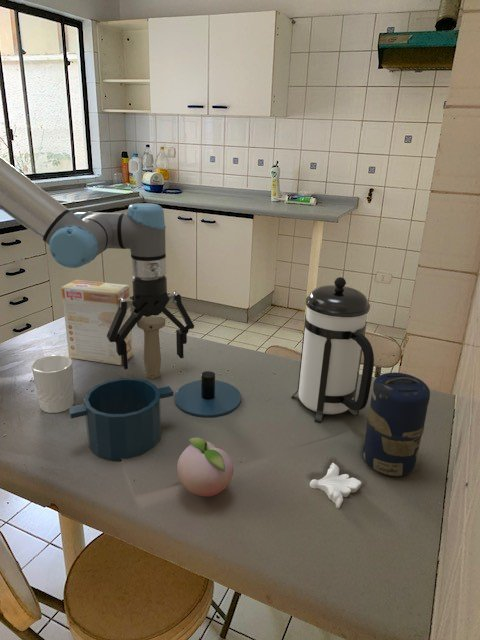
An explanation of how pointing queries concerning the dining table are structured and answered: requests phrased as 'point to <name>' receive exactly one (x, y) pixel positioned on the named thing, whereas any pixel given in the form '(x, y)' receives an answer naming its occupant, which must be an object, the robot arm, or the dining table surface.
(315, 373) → the coffee press
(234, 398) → the lid
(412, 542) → the dining table surface
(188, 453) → the decorative fruit
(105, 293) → the coffeecake box
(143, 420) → the pot
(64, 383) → the white cup
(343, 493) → the acanthus leaf ornament
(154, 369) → the handle
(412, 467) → the canister
